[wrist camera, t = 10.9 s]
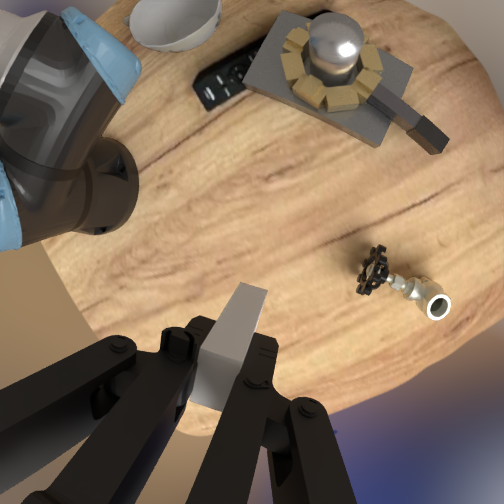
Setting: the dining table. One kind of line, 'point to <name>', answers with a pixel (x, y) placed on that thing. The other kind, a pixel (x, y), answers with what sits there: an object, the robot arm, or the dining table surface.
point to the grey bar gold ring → (356, 90)
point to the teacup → (174, 23)
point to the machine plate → (342, 120)
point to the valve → (403, 285)
